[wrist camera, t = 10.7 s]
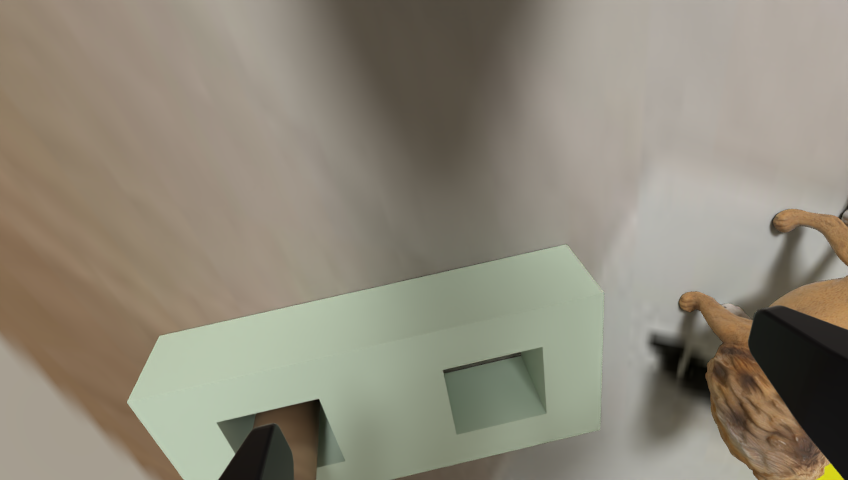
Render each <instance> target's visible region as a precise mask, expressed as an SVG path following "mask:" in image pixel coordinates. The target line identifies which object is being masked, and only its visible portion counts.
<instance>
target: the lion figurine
mask: <svg viewBox="0 0 848 480" xmlns="http://www.w3.org/2000/svg"><path fill="white" fill-rule="evenodd" d="M773 225H774V226H775V228H776V229H777V230H779V231H780V232H784V233H786V232H789V231H791V230H793V229H795V228H796V227H799V226H805V227H810V228H813V229H816V230H818V231H819V232H821V233H822V234H823V235H824V236H825V237H826V239H827V240H828V242H829V244H830V245H831V247H832V248H833V250H834V252H835V253H836V255H837V256H838V257H839V258H840V260H841V261H843V262H844V263H845V264H846V265H847V266H848V227H847V226H848V209H847V210H846V211H845V212H844V213H843V215H842V220H840V219H839V218H838V217H836V216H833V215H826V214H817V213H811V212H806V211H803V210H798V209H787V210H784V211H782V212H780V213H778V214H777V215H776V216H775V218H774V220H773ZM846 225H847V226H846ZM679 305H680V307H681V308H682V309H683V310H686V311H687V312H692V311H693V310H695V309H697V310H699V311H701V313H702V314H703V316H704V318H705V320H706V321H707V323H708V325H709V326H710V328H711V329H712V330H713V332H714V333H715V334H716V335H717V336H718V337H719V338H720V340H721V341H722V342H723V343H722V345H720V346H719V348H718V350H717V353H716V355H715V357H714V358H712V359H711V360H710V362H708V364H707V373H706V374H705V377H706V380H707V383H708V387H709V390H710V392H711V398H710V400H711V412H712V416H713V418H714V421H715V423H716V424H717V426H718V429H719V432H720V435H721V437H722V439H723V441H724V442H725V444H726V445H727V447H728V449H729V451H730V453H731V454H732V455H733V456H734V457H736V458H737V459H738V460H740V461H741V462H743V463H745V464H746V465H747V466H748V468H749V469H751V470H753V474H754V476H755V477H756V478H757V479H758V480H816V479H818V478H820V477H821V476H822V475H824V468H825V466H827V465H829V464H830V462H829V461H828V460H827V458H826V457H825V456H824V455H823V454H822V452H821V451H820V450H819V449H818V448H817V446H816V445H815V444H814V443H813V441H812V440H811V439H810V438H809V436H808V435H807V434H806V433H805V431H804V430H803V429H802V428H801V426H800V425H799V423H798V422H797V421H796V419H795V418H794V417H793V415H792V414H791V412H790V411H789V409H788V408H787V406H786V405H785V403H784V402H783V400H782V399H781V397H780V396H779V395H778V393H777V392H776V390H775V389H774V387H773V386H772V384H771V383H770V381H769V380H768V378H767V377H766V375H765V374H764V372H763V371H762V369H761V368H760V367H759V365H758V364H757V362H756V361H755V359H754V358H753V356H752V354H751V353H750V350H749V347H748V338H749V334H750V330H751V326H752V322H753V320H752V319H751V318H749V317H748V316H747V315H746V313H745V312H744V311H743V310H742V309H741V308H740V307H739V306H734V305H733V304H729V303H726V304H722V305H720V304H719V303H717V302H716V300H715V299H714V298H712V297H710V296H708V295H705V294H703V293H701V292H687V293H685V294H683V295H682V296H681V298H680V300H679ZM776 305H781V306H785V307H788V308H791V309H794V310H796V311H799V312H802V313H804V314H807V315H810V316H812V317H815V318H818V319H820V320H823V321H826V322H828V323H831V324H834V325H837V326H839V327H842V328H845V329H847V330H848V276H846V277H844V278H838V279H831V280H824V281H817V282H813V283H810V284H806V285H803V286H801V287H798V288H796V289H794V290H792V291H790V292H788V293H787V294H785V295H784V296H782V297H780V298H779V299H778V300H776V301H775V302H774V303H772V304H771V305H770V306H769V307H771V306H776Z"/></svg>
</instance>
